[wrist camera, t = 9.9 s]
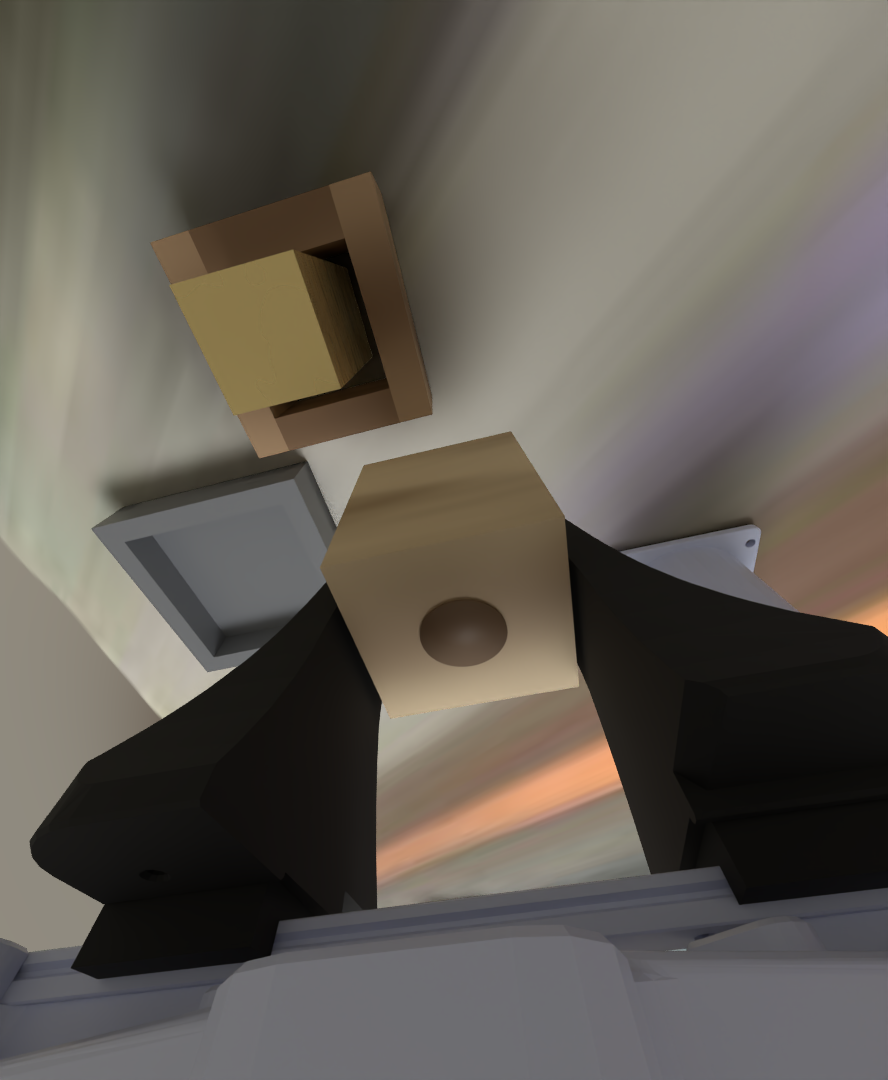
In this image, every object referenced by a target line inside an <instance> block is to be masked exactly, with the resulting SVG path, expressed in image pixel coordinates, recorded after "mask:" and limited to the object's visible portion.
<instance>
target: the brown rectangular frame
mask: <svg viewBox="0 0 888 1080" xmlns="http://www.w3.org/2000/svg"><path fill="white" fill-rule="evenodd" d="M150 244H151V245H152V247H153V249H154V251H155V253H156V255H157V257H158V259H159V261H160V263H161V265H162V267H163V269H164V271H165V273H166V275H167V277H168V279H169V281H170V283H171V284H175V283H178V282H182V281H185V280H189V279H192V278H196V277H199V276H203V275H206V274H210V273H213V272H216V271H220V270H223V269H227V268H230V267H234V266H237V265H241V264H244V263H248V262H251V261H255V260H258V259H262V258H265V257H269V256H272V255H276V254H279V253H282V252H286V251H289V250H296V251H299V252H302V253H305V254H308V255H310V256H313V257H316V258H319V259H322V260H323V259H326V258H330V257H333V256H336V255H339V254H343V253H346V252H349V254H350V257H351V261H352V264H353V267H354V271H355V274H356V277H357V281H358V284H359V287H360V291H361V294H362V297H363V301H364V304H365V307H366V311H367V314H368V317H369V321H370V324H371V327H372V331H373V334H374V338H375V341H376V344H377V348H378V351H379V354H380V358H381V361H382V364H383V368H384V371H385V374H386V378H383V379H379V380H376V381H372V382H368V383H364V384H361V385H357V386H353V387H350V388H346V389H342V390H338V391H335V392H331V393H327V394H323V395H320V396H316V397H312V398H308V399H305V400H301V401H297V400H294V401H290V402H286V403H282V404H278V405H274V406H270V407H266V408H262V409H258V410H254V411H250V412H246V413H242V414H238V415H237V416H238V418H239V419H240V421H241V423H242V425H243V427H244V429H245V431H246V433H247V435H248V437H249V439H250V441H251V443H252V445H253V447H254V449H255V451H256V453H257V455H258V457H259V458H263V457H267V456H271V455H275V454H279V453H283V452H287V451H290V450H294V449H298V448H302V447H306V446H310V445H314V444H318V443H322V442H326V441H330V440H334V439H337V438H341V437H345V436H349V435H353V434H357V433H361V432H365V431H369V430H373V429H377V428H381V427H385V426H388V425H392V424H396V423H400V422H404V421H408V420H412V419H416V418H420V417H424V416H428V415H432V394H431V390H430V386H429V382H428V378H427V374H426V370H425V366H424V362H423V358H422V354H421V350H420V346H419V342H418V338H417V334H416V330H415V326H414V322H413V318H412V314H411V310H410V306H409V302H408V298H407V294H406V290H405V286H404V282H403V278H402V274H401V270H400V266H399V262H398V258H397V254H396V250H395V246H394V242H393V238H392V234H391V230H390V226H389V222H388V217H387V213H386V209H385V205H384V201H383V197H382V194H381V192H380V190H379V188H378V185H377V183H376V181H375V179H374V177H373V175H372V173H371V171H370V172H367V173H364V174H361V175H358V176H355V177H352V178H348V179H345V180H342V181H339V182H336V183H333V184H330V185H327V186H324V187H321V188H318V189H314V190H311V191H308V192H305V193H302V194H299V195H296V196H293V197H290V198H287V199H284V200H280V201H277V202H274V203H271V204H268V205H265V206H262V207H259V208H256V209H253V210H250V211H247V212H243V213H240V214H237V215H234V216H231V217H228V218H225V219H222V220H219V221H216V222H213V223H209V224H206V225H203V226H200V227H197V228H194V229H191V230H188V231H185V232H182V233H179V234H175V235H172V236H169V237H166V238H163V239H160V240H157V241H154V242H151V243H150Z"/></svg>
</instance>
